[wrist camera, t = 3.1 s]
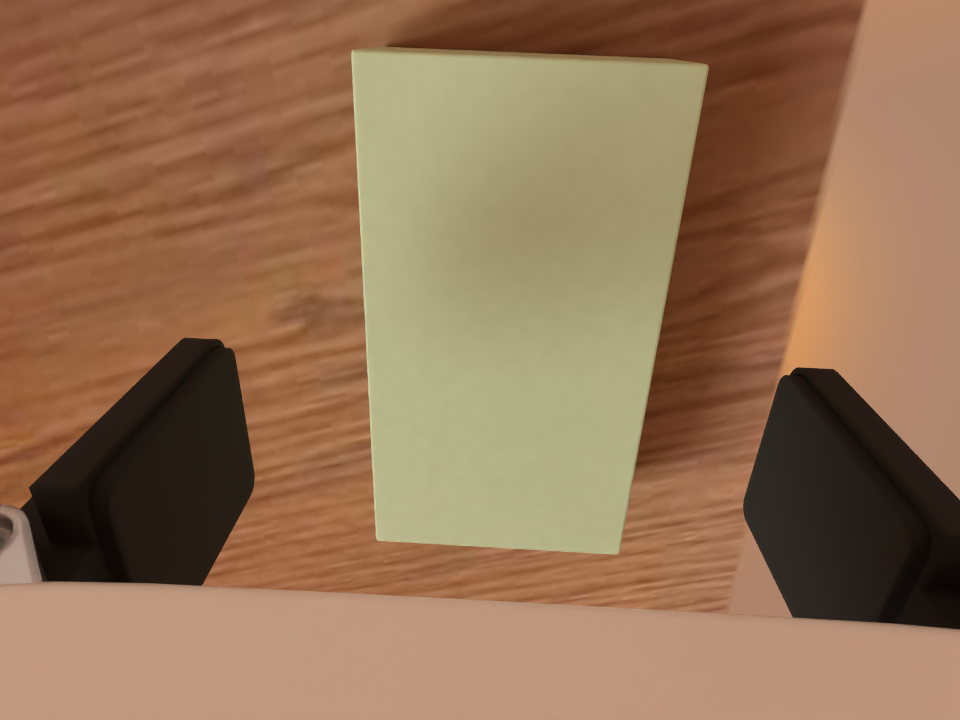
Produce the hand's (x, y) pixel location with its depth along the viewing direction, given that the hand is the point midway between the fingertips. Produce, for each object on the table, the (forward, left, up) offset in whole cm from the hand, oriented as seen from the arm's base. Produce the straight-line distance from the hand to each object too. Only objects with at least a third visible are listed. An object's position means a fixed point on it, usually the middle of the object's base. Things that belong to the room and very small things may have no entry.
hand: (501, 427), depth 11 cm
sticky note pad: (0, 0, -7) cm, 7 cm away
